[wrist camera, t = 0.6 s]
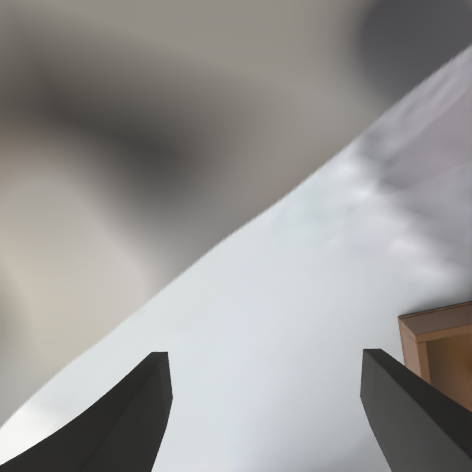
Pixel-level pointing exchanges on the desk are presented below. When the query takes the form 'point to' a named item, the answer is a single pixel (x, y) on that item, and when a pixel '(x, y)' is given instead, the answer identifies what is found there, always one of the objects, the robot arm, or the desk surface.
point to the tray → (441, 349)
